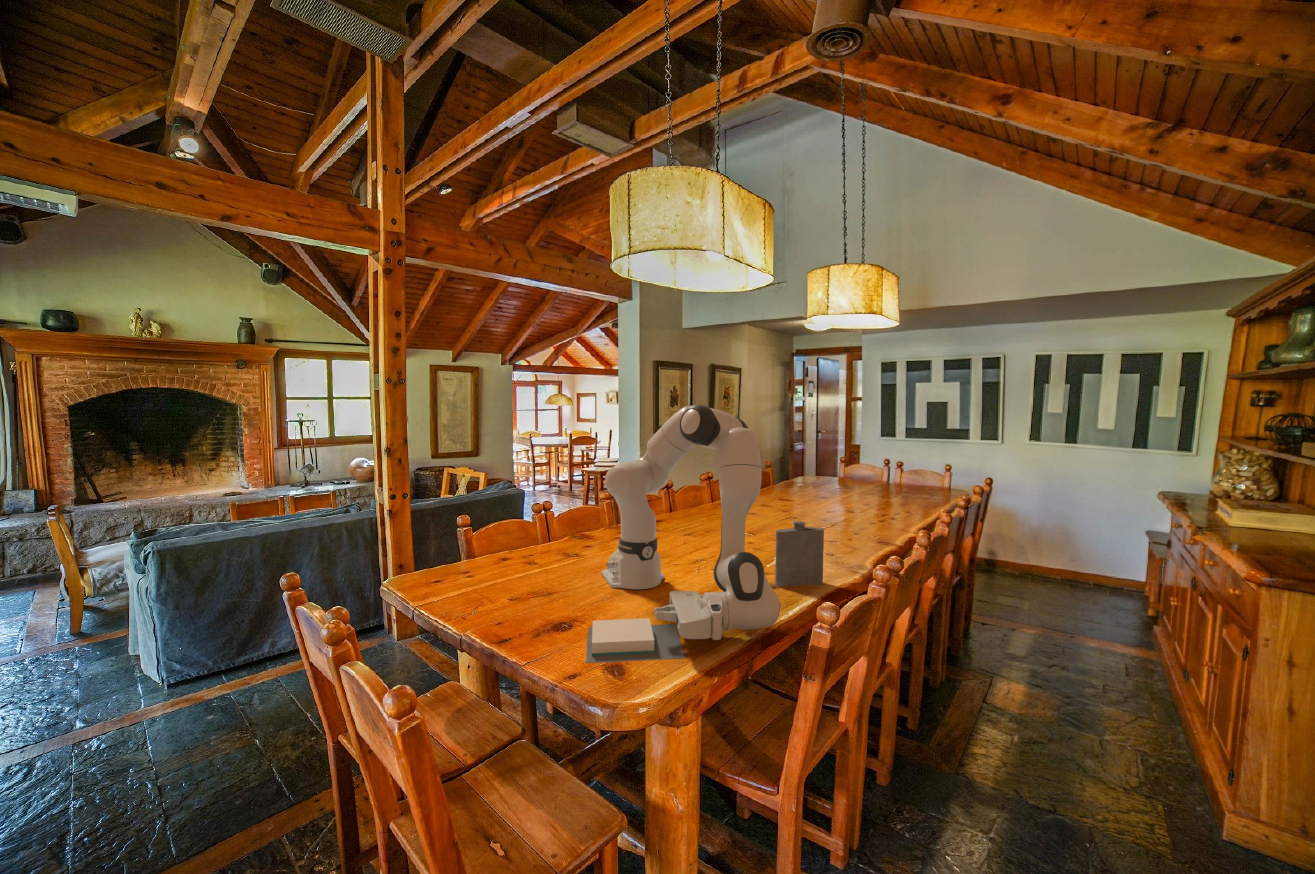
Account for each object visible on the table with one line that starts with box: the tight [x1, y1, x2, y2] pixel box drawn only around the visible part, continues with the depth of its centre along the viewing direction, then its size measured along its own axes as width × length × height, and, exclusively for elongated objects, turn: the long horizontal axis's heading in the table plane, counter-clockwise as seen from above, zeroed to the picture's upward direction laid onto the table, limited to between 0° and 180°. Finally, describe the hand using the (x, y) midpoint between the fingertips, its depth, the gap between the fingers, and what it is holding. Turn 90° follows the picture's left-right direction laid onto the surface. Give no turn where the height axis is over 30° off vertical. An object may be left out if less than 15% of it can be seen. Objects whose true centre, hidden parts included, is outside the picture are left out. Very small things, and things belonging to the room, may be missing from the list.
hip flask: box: [774, 520, 825, 588], centre depth 163 cm, size 16×4×20 cm, turn 102°
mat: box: [585, 623, 687, 664], centre depth 122 cm, size 22×18×1 cm
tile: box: [592, 617, 654, 656], centre depth 122 cm, size 3×12×14 cm
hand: (654, 613), depth 122 cm, fingers closed
